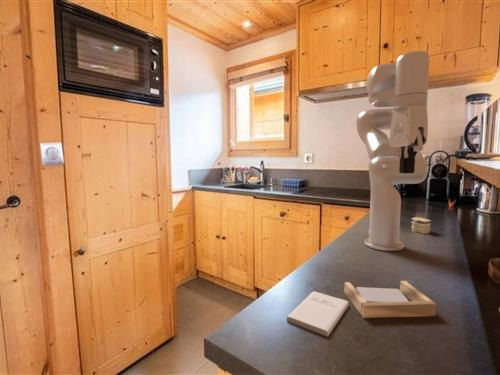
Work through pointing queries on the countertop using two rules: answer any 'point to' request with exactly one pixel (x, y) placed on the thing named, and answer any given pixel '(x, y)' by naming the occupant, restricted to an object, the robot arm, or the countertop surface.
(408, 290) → the pine rack
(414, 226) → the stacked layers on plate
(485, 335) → the countertop surface
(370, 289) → the light grey slab
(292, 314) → the external hard drive
